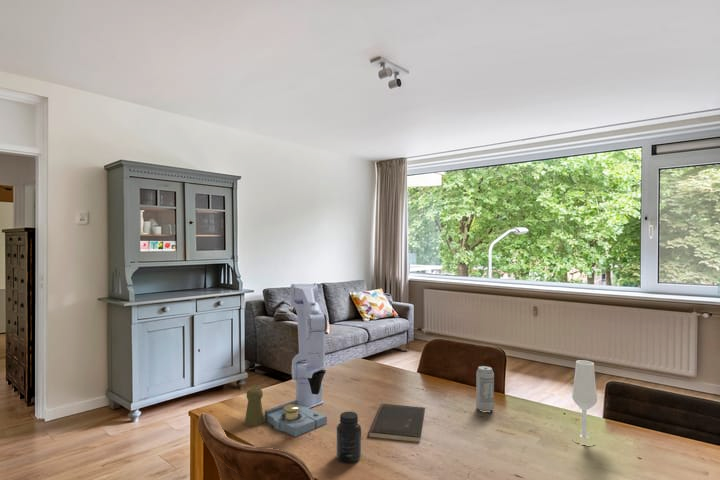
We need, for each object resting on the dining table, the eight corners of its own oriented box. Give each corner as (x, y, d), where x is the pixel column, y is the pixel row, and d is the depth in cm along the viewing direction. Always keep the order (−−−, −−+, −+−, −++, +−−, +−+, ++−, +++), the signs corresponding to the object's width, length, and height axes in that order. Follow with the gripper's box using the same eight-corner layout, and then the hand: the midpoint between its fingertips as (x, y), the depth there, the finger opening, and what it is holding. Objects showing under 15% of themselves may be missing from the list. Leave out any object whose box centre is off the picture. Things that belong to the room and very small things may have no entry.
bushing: (297, 421, 143) (297, 403, 143) (300, 427, 138) (300, 409, 138) (282, 423, 141) (282, 405, 141) (285, 430, 136) (285, 411, 136)
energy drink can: (491, 407, 157) (492, 365, 157) (495, 413, 151) (495, 370, 151) (474, 406, 158) (475, 365, 158) (477, 412, 152) (478, 370, 152)
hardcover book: (425, 414, 152) (425, 407, 152) (420, 444, 129) (420, 436, 129) (380, 409, 155) (380, 403, 155) (367, 438, 132) (367, 431, 132)
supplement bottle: (335, 452, 123) (336, 409, 123) (359, 451, 123) (360, 409, 123) (336, 464, 116) (337, 420, 116) (362, 463, 117) (362, 419, 117)
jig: (296, 410, 152) (296, 400, 152) (326, 423, 141) (326, 413, 141) (262, 422, 142) (262, 411, 142) (292, 437, 131) (292, 426, 131)
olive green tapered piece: (259, 427, 138) (259, 393, 138) (241, 425, 139) (241, 391, 139) (266, 419, 144) (267, 386, 144) (249, 418, 145) (250, 385, 145)
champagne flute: (587, 448, 127) (588, 366, 126) (566, 439, 133) (567, 360, 132) (601, 443, 130) (602, 363, 130) (580, 434, 136) (582, 358, 136)
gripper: (311, 345, 148) (311, 385, 148) (296, 356, 134) (295, 400, 134) (331, 346, 146) (331, 386, 146) (317, 358, 132) (317, 402, 132)
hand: (315, 393), depth 140 cm, fingers closed
